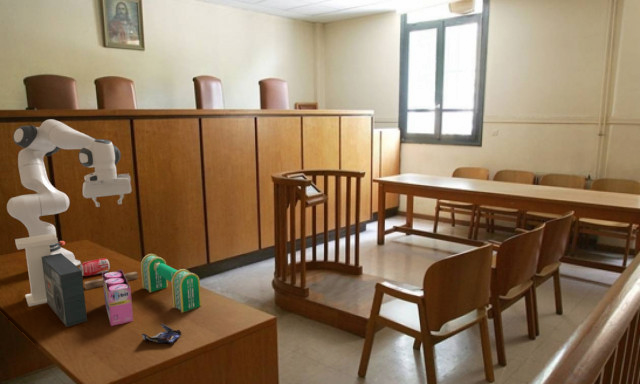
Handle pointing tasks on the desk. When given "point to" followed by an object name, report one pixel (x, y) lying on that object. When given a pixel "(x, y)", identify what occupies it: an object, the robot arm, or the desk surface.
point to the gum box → (117, 297)
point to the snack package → (164, 335)
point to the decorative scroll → (182, 281)
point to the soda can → (95, 267)
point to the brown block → (100, 281)
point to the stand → (36, 264)
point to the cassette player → (64, 289)
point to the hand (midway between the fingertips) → (109, 205)
